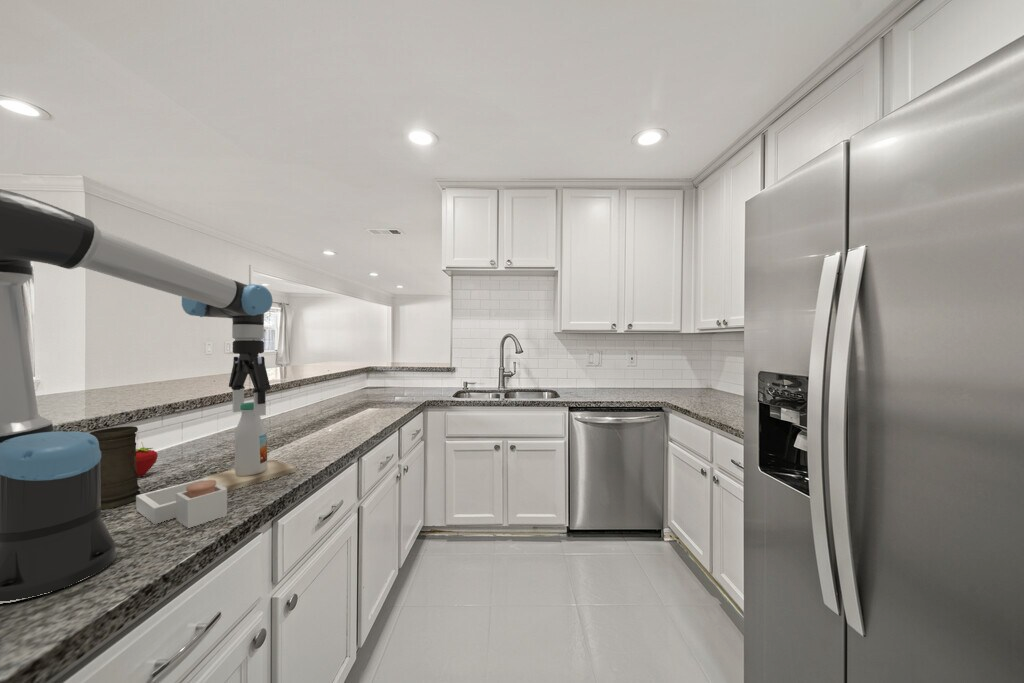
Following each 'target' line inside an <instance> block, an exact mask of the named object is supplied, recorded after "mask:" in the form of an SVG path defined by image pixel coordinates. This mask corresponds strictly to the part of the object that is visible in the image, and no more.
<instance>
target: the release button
mask: <svg viewBox="0 0 1024 683" xmlns="http://www.w3.org/2000/svg"><path fill="white" fill-rule="evenodd" d="M215 485H216V481H215V480H206V481H200V482H196V483H193V484H190V485H188V486H187V487H186V491H188V492H189V498H194V497H198V496H201V495H205V494H208V493H212V492H214V486H215Z"/></svg>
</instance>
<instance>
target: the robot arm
mask: <svg viewBox="0 0 1024 683" xmlns="http://www.w3.org/2000/svg"><path fill="white" fill-rule="evenodd" d="M31 262H37V263H42V264H46V265H47V264H48V265H52V266H56V267H60V268H63V269H67V270H74V269H77V268H83V269H86V270H90V271H93V272H97V273H100V274H103V275H106V276H110V277H112V278H113V277H114V278H117V279H120V280H123V281H127V282H130V283H133V284H137V285H141V286H144V287H148V288H151V289H154V290H158V291H161V292H165V293H168V294H172V295H175V296H178V297H181V307H182V310H183V312H185V314H187V315H189V316H193V317H194V316H195V317H200V318H221V319H222V318H224V319H231V320H232V325H231V329H232V332H231V333H232V334H231V339H233V341H232V353H233V354H235V355H239V356H233V360H232V362H233V363H232V364H233V365H232V367H231V368H232V370H231V374H230V378H229V383H228V387H229V388H231V390H232V413H240V412H241V409H240V405H241V404H243V403H245V389H246V388H245V382H246V381H247V380H246V379H247V377H248V375H249V377H250V379H251V380H250V381H251V382H252V386H253V388H254V390H253V391H252V394H253V402H254V416H260V417H261V416H266V415H267V414H266V413H267V412H266V411H267V408H266V407H267V406H266V405H267V403H266V402H267V400H266V397H267V394H266V392H268V391H269V390H271V385H270V380H269V376H268V373H267V369H266V362H265V356H259V354H264V352H265V341H263V339H264V338H265V337H264V336H265V332H266V329H265V314H266V313H267V312H269V311H270V310H271V308H272V305H273V296H272V293H271V291H270V290H269V289H268V288H267V287H265V286H264V285H262V284H255V283H250V284H246V283H244V282H240V281H238V280H235V279H232V278H228V277H225V276H224V275H223V276H222V275H220V274H218V273H215V272H213V271H209V270H207V269H205V268H202V267H199V266H196V265H195V264H191V263H190V262H186V261H183V260H181V259H179V258H176V257H173V256H170V255H167V254H165V253H163V252H160V251H156V250H154V249H152V248H149V247H146V246H145V245H142V244H138V243H136V242H133V241H131V240H129V239H126V238H123V237H120V236H118V235H115V234H113V233H110V232H108V231H104V230H101V229H99V228H98V226H97V224H96V222H94V220H91V219H89V218H86V217H84V216H80V215H79V214H75V213H74V212H71V211H68V210H66V209H62V208H61V207H59V206H55V205H53V204H50V203H48V202H45V201H41V200H38V199H35V198H33V197H30V196H26V195H25V194H21V193H18V192H13V191H10V190H6V189H1V188H0V601H10V600H16V599H22V598H28V597H32V596H37V595H40V594H44V593H48V592H51V591H55V590H58V589H61V588H64V587H67V586H69V585H71V584H74V583H76V582H78V581H80V580H82V579H84V578H86V577H88V576H91V575H93V574H95V573H97V572H99V571H100V572H102V571H103V570H102V569H103V568H105V567H106V566H108V565H109V564H110V563H111V562H112V563H114V561H115V560H116V559H117V546H116V545H117V544H116V542H115V540H114V539H113V537H112V534H111V533H110V531H109V529H108V528H107V527H108V526H106V524H105V522H104V521H103V518H102V509H101V477H100V459H101V451H100V449H99V442H98V439H97V438H96V437H95V436H93V435H91V434H89V433H90V432H84V431H77V430H76V431H73V430H72V431H65V430H64V431H61V430H59V431H54V427H53V426H54V425H53V421H52V420H50V419H49V418H46V417H43V416H41V415H40V414H39V411H38V410H39V409H38V404H37V397H36V395H37V394H36V388H35V382H34V381H35V379H34V373H33V366H32V361H31V360H32V358H31V351H30V346H29V344H30V342H29V336H28V330H27V329H28V328H27V324H26V322H27V321H26V315H25V308H24V302H23V301H24V300H23V294H22V286H23V285H24V284H25V283H27V282H28V281H30V280H31V279H32V278H33V272H32V263H31ZM241 413H242V412H241ZM112 563H111V564H112ZM111 564H110V565H111ZM110 565H109V566H110ZM109 566H108V567H109ZM106 568H107V567H106ZM106 568H105V569H106ZM101 570H102V571H101ZM100 572H99V573H100ZM97 574H98V573H97ZM95 575H96V574H95ZM93 576H94V575H93ZM91 577H92V576H91ZM76 584H77V583H76ZM74 585H75V584H74ZM69 587H70V586H69ZM67 588H68V587H67ZM64 589H65V588H64ZM61 590H62V589H61ZM58 591H59V590H58Z"/></svg>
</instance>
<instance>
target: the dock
mask: <svg viewBox="0 0 1024 683" xmlns="http://www.w3.org/2000/svg"><path fill="white" fill-rule="evenodd" d="M206 480H209V479H207V478H204V477H203V478H200V479H196V480H191V481H188V482H184V483H180V484H176V485H173V486H168V487H165V488H161V489H157V490H152V491H148V492H144V493H141V494H140V495H136V500H135V502H136V504H135V505H136V510H137V511H136V512H138V513H139V514H140V515H141V516H143V517H144V518H145V517H146V518H145V519H147V520H148V521H149V522H150V521H151V523H152V524H153V525H154V524H155V525H159V524H161V522H162V523H165V522H167V521H166V520H168V521H171V520H170V519H172V520H174V519H173V518H175V519H176V522H178V521H179V522H180V523H182V524H183V525H185V526H186V527H188V528H190V527H193V526H196V525H199V524H202V523H205V522H208V521H211V520H214V519H217V518H220V519H222V518H221V517H223V516H226V517H227V516H228V492H227V488H226V487H224V486H222V485H220V484H217V483H216V485H215V486H214V492H212V493H208V494H205V495H201V496H198V497H194V498H189V492H188V491H186V487H187V486H188V485H190V484H193V483H196V482H200V481H206ZM223 518H224V517H223ZM217 520H218V519H217ZM164 521H165V522H164ZM214 521H215V520H214ZM179 522H178V523H179ZM211 522H212V521H211ZM158 523H159V524H158ZM180 523H179V524H180ZM208 523H209V522H208ZM182 524H181V525H182ZM205 524H206V523H205ZM183 525H182V526H183ZM202 525H203V524H202ZM185 526H184V527H185ZM199 526H200V525H199ZM186 527H185V528H186ZM196 527H197V526H196ZM188 528H187V529H188ZM193 528H194V527H193ZM190 529H191V528H190Z"/></svg>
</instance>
